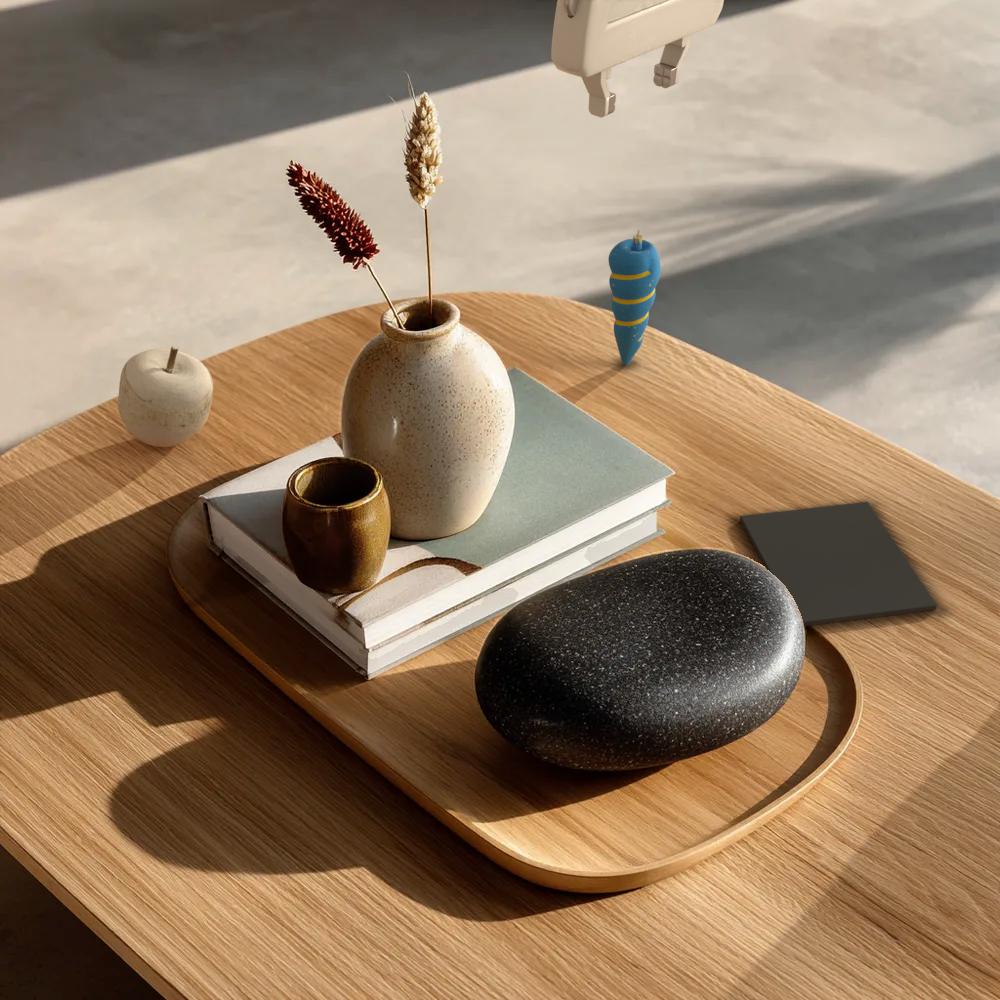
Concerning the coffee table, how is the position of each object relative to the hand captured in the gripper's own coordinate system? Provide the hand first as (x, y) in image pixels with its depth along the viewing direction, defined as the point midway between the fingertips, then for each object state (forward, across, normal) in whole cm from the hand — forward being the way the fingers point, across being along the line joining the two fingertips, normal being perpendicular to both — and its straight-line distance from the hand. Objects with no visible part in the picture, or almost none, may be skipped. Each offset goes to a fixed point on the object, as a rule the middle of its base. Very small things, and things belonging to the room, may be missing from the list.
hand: (634, 99), depth 118 cm
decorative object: (+30, -36, +24) cm, 53 cm away
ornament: (+30, +4, +1) cm, 30 cm away
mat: (+29, -10, -32) cm, 44 cm away
